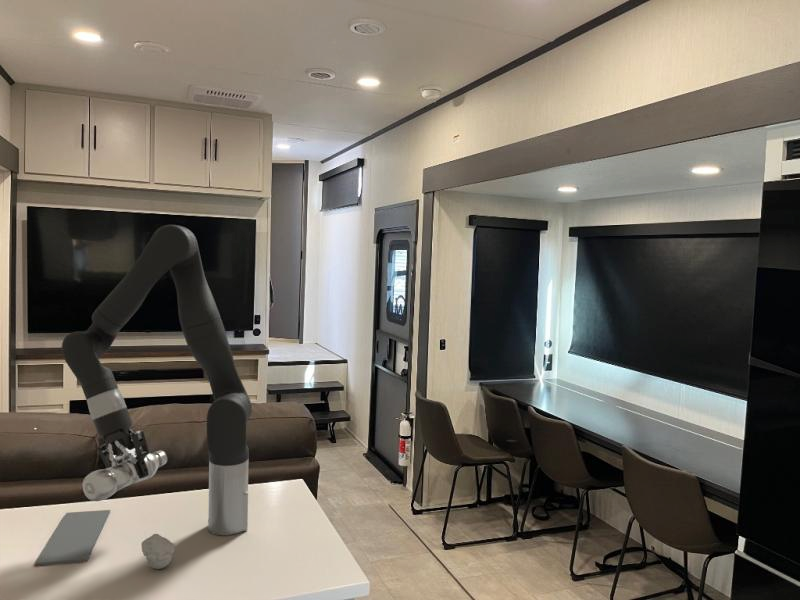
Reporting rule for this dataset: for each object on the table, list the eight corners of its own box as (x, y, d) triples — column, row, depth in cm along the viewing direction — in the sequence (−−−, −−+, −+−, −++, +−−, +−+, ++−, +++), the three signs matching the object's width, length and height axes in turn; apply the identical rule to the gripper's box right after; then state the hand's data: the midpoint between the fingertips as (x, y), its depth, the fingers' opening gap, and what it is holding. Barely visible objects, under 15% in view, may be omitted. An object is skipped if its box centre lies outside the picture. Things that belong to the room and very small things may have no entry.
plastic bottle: (75, 492, 131) (148, 459, 149) (95, 511, 129) (167, 475, 147) (82, 469, 129) (155, 438, 147) (102, 487, 127) (174, 454, 145)
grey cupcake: (149, 558, 132) (149, 528, 132) (180, 560, 132) (180, 530, 131) (135, 574, 126) (135, 542, 126) (168, 576, 126) (168, 544, 125)
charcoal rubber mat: (110, 512, 153) (110, 509, 153) (87, 561, 130) (87, 558, 130) (66, 514, 150) (66, 512, 150) (35, 566, 127) (35, 563, 127)
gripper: (142, 399, 140) (168, 467, 139) (104, 416, 146) (128, 481, 145) (115, 408, 133) (142, 479, 132) (76, 425, 139) (102, 493, 139)
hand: (135, 480), depth 139 cm, fingers closed on plastic bottle, 6 cm apart
